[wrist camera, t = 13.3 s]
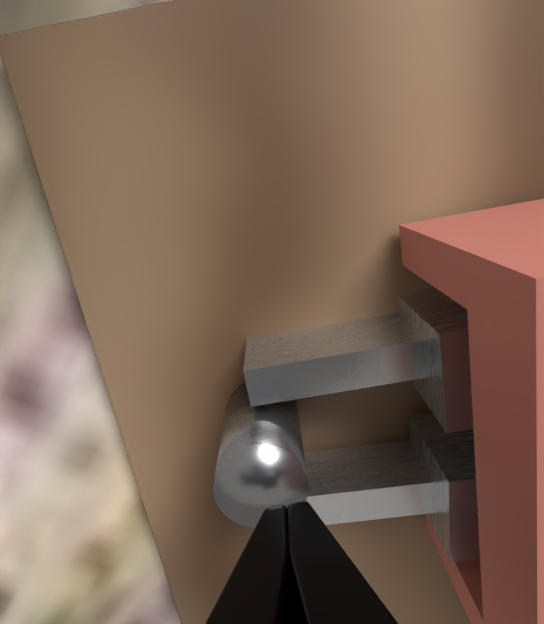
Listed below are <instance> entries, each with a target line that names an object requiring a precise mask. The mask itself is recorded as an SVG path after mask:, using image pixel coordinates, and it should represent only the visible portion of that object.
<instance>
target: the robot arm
mask: <svg viewBox="0 0 544 624" xmlns="http://www.w3.org/2000/svg"><path fill="white" fill-rule="evenodd" d="M205 624H398V622H397V621H396V620H395V618H394V617H393V616H392V614H391V613H390V612H389V610H388V609H387V607H386V606H385V605H384V603H383V602H382V601H381V599H380V598H379V597H378V595H377V594H376V593H375V591H374V590H373V589H372V587H371V586H370V585H369V583H368V582H367V580H366V579H365V578H364V576H363V575H362V574H361V572H360V571H359V570H358V568H357V567H356V566H355V564H354V563H353V562H352V560H351V559H350V558H349V556H348V555H347V553H346V552H345V551H344V549H343V548H342V547H341V545H340V544H339V543H338V541H337V540H336V539H335V537H334V536H333V535H332V533H331V532H330V530H329V529H328V528H327V526H326V525H325V524H324V522H323V521H322V520H321V518H320V517H319V516H318V514H317V513H316V512H315V510H314V509H313V508H312V506H311V505H310V504H309V503H308V502H307V501H303V502H297V503H291V504H289V505H288V506H287V507H286V506H285V505H279V506H273V507H268V508H266V509H265V510H264V512H263V513H262V515H261V517H260V519H259V521H258V523H257V525H256V527H255V529H254V531H253V532H252V534H251V536H250V538H249V540H248V542H247V544H246V546H245V548H244V550H243V551H242V553H241V555H240V557H239V559H238V561H237V563H236V565H235V567H234V569H233V570H232V572H231V574H230V576H229V578H228V580H227V582H226V584H225V586H224V588H223V589H222V591H221V593H220V595H219V597H218V599H217V601H216V603H215V605H214V607H213V608H212V610H211V612H210V614H209V616H208V618H207V620H206V622H205Z"/></svg>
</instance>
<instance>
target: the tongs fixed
mask: <svg viewBox="0 0 544 624" xmlns="http://www.w3.org/2000/svg"><path fill="white" fill-rule="evenodd" d="M397 305H398V313H395V314H389V315H383V316H377V317H371V318H366V319H360V320H354V321H348V322H342V323H337V324H331V325H325V326H319V327H313V328H308V329H302V330H296V331H290V332H284V333H279V334H273V335H267V336H261V337H255V338H250V339H247V341H246V350H245V359H244V368H243V372H244V377H245V382H246V383H244V384H242V385H241V386H239V387H238V388H237V389H236V390H235V391H234V392H233V393H232V394H231V396H230V397H229V400H228V402H227V405H226V411H225V417H224V423H223V429H222V435H221V441H220V447H219V453H218V459H217V465H216V471H215V477H214V484H213V494H214V498H215V501H216V504H217V505H218V507H219V509H220V510H221V511H222V513H223V514H224V515H225V516H227V517H228V518H229V519H230V520H232V521H233V522H235V523H237V524H239V525H242V526H245V527H249V528H255V527H256V525H257V523H258V521H259V519H260V517H261V515H262V513H263V512H264V510H265V509H266V508H268V507H273V506H279V505H285V506H286V507H287V506H288V505H289V504H291V503H297V502H303V501H306V500H307V497H308V490H309V486H308V478H307V471H306V464H305V456H304V449H303V442H302V435H301V427H300V420H299V413H298V406H297V402H296V400H295V399H301V398H307V397H313V396H319V395H325V394H331V393H337V392H343V391H349V390H355V389H361V388H367V387H373V386H379V385H385V384H391V383H397V382H403V381H409V380H410V381H411V383H412V384H413V385H414V387H415V388H416V390H417V391H418V393H419V394H420V395H421V397H422V398H423V400H424V401H425V403H426V404H427V406H428V407H429V408H430V410H431V411H432V413H433V414H434V416H435V417H436V418H437V420H438V421H439V423H440V424H441V426H442V427H443V429H444V430H445V431H446V433H451V432H457V431H463V430H469V429H473V410H472V391H471V371H470V352H469V332H468V313H467V309H466V308H464V307H463V306H461V305H460V304H458V303H457V302H456V301H454V300H453V299H451V298H450V297H448V296H447V295H445V294H444V293H442V292H441V291H439V290H438V289H436V288H431V289H425V290H420V291H414V292H408V293H402V294H397Z"/></svg>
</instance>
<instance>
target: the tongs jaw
mask: <svg viewBox="0 0 544 624" xmlns="http://www.w3.org/2000/svg"><path fill="white" fill-rule="evenodd" d="M409 427H410V440H407V441H399V442H390V443H381V444H373V445H364V446H355V447H347V448H338V449H329V450H321V451H312V452H304V456H305V464H306V471H307V478H308V486H309V490H308V497H307V500H306V501H307V502H308V503H309V504H310V505H311V506H312V508H313V509H314V510H315V512H316V513H317V514H318V516H319V517H320V518H321V520H322V521H323V522H324V524H325V525H330V524H339V523H348V522H357V521H366V520H375V519H384V518H393V517H402V516H411V515H420V514H427V516H428V518H429V520H430V522H431V524H432V526H433V528H434V531H435V533H436V535H437V537H438V539H439V541H440V543H441V545H442V548H443V550H444V552H445V554H446V556H447V558H448V560H449V562H456V561H465V560H474V559H480V546H479V527H478V508H477V488H476V469H475V449H474V430H473V429H469V430H463V431H457V432H451V433H446V431H445V430H444V429H443V427H442V426H441V424H440V423H439V421H438V420H437V418H436V417H435V416H434V414H433V413H432V412H430V413H422V414H413V415H409Z"/></svg>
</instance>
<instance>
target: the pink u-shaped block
mask: <svg viewBox="0 0 544 624" xmlns="http://www.w3.org/2000/svg"><path fill="white" fill-rule="evenodd" d="M399 232H400V243H401V254H402V264H403V266H404V267H405V268H407V269H408V270H410V271H411V272H413V273H414V274H416V275H417V276H419V277H420V278H422V279H423V280H425V281H426V282H428V283H429V284H430V285H432V286H433V287H435V288H436V289H438V290H439V291H441V292H442V293H444V294H445V295H447V296H448V297H450V298H451V299H453V300H454V301H456V302H457V303H458V304H460V305H461V306H463V307H464V308H466V309H467V313H468V332H469V352H470V371H471V391H472V410H473V430H474V449H475V469H476V488H477V508H478V527H479V546H480V559H474V560H465V561H456V562H449V560H448V558H447V556H446V554H445V552H444V550H443V548H442V545H441V543H440V541H439V539H438V537H437V535H436V533H435V531H434V528H433V526H432V524H431V522H430V520H429V518H428V516H427V514H426V522H427V528H428V531H429V533H430V535H431V537H432V539H433V542H434V544H435V546H436V548H437V550H438V553H439V555H440V557H441V559H442V561H443V564H444V566H445V568H446V570H447V572H448V574H449V577H450V579H451V581H452V583H453V585H454V588H455V590H456V592H457V594H458V596H459V599H460V601H461V603H462V605H463V607H464V610H465V612H466V614H467V616H468V618H469V621H470V623H471V624H544V199H539V200H534V201H528V202H523V203H517V204H512V205H506V206H500V207H495V208H489V209H484V210H478V211H473V212H467V213H462V214H456V215H450V216H445V217H439V218H434V219H428V220H423V221H417V222H412V223H406V224H400V225H399Z"/></svg>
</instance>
